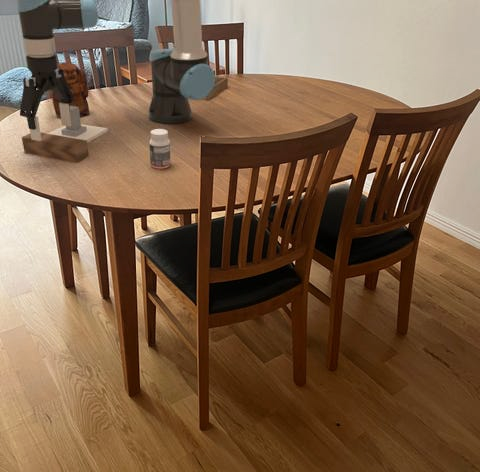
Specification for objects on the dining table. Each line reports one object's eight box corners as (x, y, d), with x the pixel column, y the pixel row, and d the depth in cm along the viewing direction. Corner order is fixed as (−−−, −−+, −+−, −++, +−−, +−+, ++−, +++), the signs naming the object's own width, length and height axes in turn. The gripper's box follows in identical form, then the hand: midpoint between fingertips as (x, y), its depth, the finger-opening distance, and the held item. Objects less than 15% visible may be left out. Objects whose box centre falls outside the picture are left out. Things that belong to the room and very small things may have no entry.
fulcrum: (107, 131, 166) (105, 104, 161) (79, 147, 153) (75, 118, 148) (70, 125, 169) (67, 98, 165) (40, 140, 156) (35, 112, 151)
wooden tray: (227, 87, 218) (227, 77, 216) (208, 100, 200) (208, 90, 198) (195, 83, 222) (195, 73, 220) (173, 95, 204) (173, 85, 202)
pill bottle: (151, 161, 146) (149, 127, 141) (171, 161, 146) (170, 128, 141) (149, 169, 141) (147, 135, 136) (170, 169, 142) (169, 135, 136)
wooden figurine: (62, 121, 172) (54, 66, 163) (53, 116, 176) (45, 63, 167) (93, 114, 180) (87, 62, 170) (84, 110, 183) (78, 58, 174)
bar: (89, 156, 148) (87, 140, 145) (77, 163, 143) (75, 146, 141) (37, 147, 152) (34, 131, 150) (24, 153, 148) (21, 137, 145)
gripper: (57, 45, 144) (67, 118, 155) (-5, 61, 124) (10, 144, 135) (80, 48, 143) (88, 121, 153) (20, 65, 122) (34, 148, 133)
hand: (52, 132), depth 144 cm, fingers open, 13 cm apart
